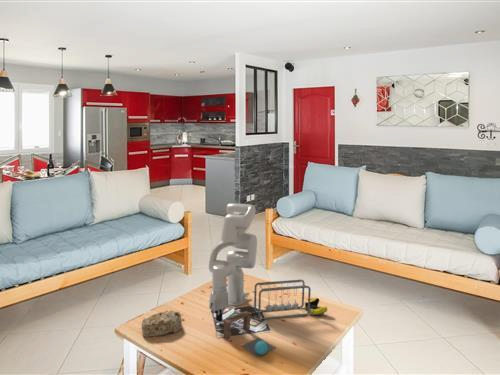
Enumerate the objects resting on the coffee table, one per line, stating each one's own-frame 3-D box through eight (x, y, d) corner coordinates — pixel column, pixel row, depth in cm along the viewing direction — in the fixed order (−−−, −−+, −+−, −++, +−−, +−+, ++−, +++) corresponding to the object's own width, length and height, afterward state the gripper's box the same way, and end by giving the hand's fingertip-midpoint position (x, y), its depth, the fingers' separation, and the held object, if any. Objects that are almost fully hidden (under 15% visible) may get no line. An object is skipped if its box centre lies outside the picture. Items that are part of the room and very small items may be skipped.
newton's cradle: (303, 307, 242) (304, 278, 239) (309, 315, 232) (311, 285, 229) (253, 312, 235) (254, 282, 232) (258, 320, 225) (259, 290, 222)
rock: (144, 342, 203) (140, 322, 204) (142, 334, 217) (139, 315, 217) (185, 331, 210) (181, 312, 210) (180, 324, 224) (177, 306, 224)
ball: (260, 346, 198) (262, 336, 196) (268, 354, 194) (271, 344, 192) (251, 351, 194) (253, 341, 192) (259, 359, 190) (261, 349, 188)
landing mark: (258, 337, 207) (258, 337, 207) (275, 347, 198) (275, 347, 198) (240, 346, 199) (240, 345, 199) (257, 356, 190) (257, 356, 190)
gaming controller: (317, 305, 246) (301, 306, 243) (318, 296, 245) (302, 297, 243) (328, 316, 232) (311, 318, 229) (328, 307, 231) (312, 309, 228)
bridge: (223, 337, 207) (223, 319, 205) (246, 328, 217) (246, 310, 215) (227, 340, 205) (227, 322, 203) (249, 330, 214) (250, 313, 213)
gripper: (225, 282, 226) (225, 313, 229) (203, 289, 216) (203, 322, 219) (234, 286, 221) (234, 318, 224) (212, 294, 211) (212, 327, 214)
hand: (219, 320), depth 221 cm, fingers closed
